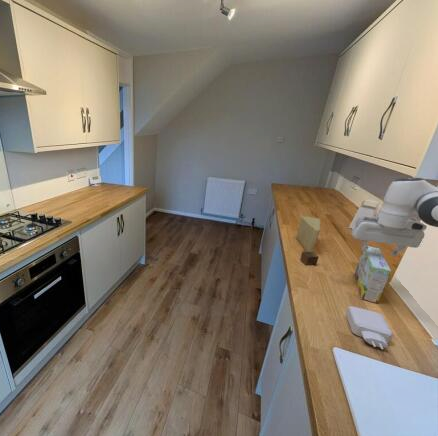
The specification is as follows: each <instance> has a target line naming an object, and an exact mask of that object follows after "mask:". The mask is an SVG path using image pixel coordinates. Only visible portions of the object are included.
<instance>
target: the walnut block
mask: <svg viewBox="0 0 438 436" xmlns="http://www.w3.org/2000/svg"><path fill="white" fill-rule="evenodd" d="M300 260H301V261H302V262H303V263H302V262H301V261H300ZM299 261H300V262H301V263H302V264H304V265H305V266H307V265H313V266H312V267H315V266H317V264H318V261H319V256H318V255H317V254H316V253H315V252H314V251H313V252H306V251H302V252H301V256H300V259H299Z"/></svg>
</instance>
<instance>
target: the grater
mask: <svg viewBox="0 0 438 436" xmlns="http://www.w3.org/2000/svg"><path fill="white" fill-rule="evenodd" d="M365 201H366V202H371V203H375V204H376V206H372V205H366V204H365ZM379 205H380V202H379V201H377V200H371V199H365V200H362V202H361V204H360V206H359V207H358V209H357V211H356V213H355V215H354V217H353V219H352V221H351V222H350V224H349V227H348V229H349V228H352V229H351V230H353V229H354V227H355V224H356V221H357V219H359V218H362V217H368V218H376V217H377V214H378V212H379Z"/></svg>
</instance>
